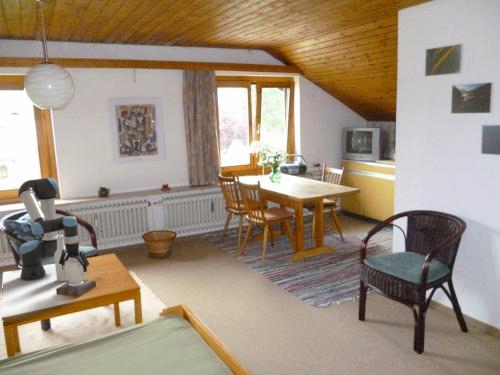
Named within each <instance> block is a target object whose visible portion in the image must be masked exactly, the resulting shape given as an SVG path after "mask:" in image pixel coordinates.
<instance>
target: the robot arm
mask: <svg viewBox="0 0 500 375" xmlns="http://www.w3.org/2000/svg"><path fill="white" fill-rule="evenodd" d="M17 194H18V195H17V196H18V199H19V200H20V202H21V203H23V205H24V207H25V209H26V212H27V214H28V216H29V218H30V220H31V222H32V223H31V224H30V230H31V234H32V235H33V236H38V235H43V237H42V238H41V241H39V240H36V239H35V240H30V241H27V242H25V243H23V244H21V245H20V250H19V253H20V258H21V272H20V280H22V281H34V280H39V279H41V278H43V277H46V274H47V273H46V272H47V271H46V269H45V268H44V265H43V264H42V260H45V259H49V258H55V257H54V254H55V251H56V250H57V237H56V236H57V235H59V232H60V231H63V238H64V245H65V248H66V249H63V250H62V255H61V258H60V261H59V264H61V265H62V269H63V271H64V276H66V272H65V266H66V264H65V261H67V260H68V259H69V258H70V259H71V258H72V259H73V258H76V259H77V260H78V261H79V262H80V264H81V265H82V266H83V267H82V275H83V279H84V278H86V277H87V276H88V274H87V272H88V267H89V266H90V262H89V260H88V259H87V257H86V255H85V251H84V250H83V249H82V250H80V249H79V248H80V243H79V233H78V221H77V217H76V216H75V215H74V216H73V215H69V216H59V217H57V212H56V205H55V204H56V203H55V200H56V199H57V195H59V194H60V188H59V185H58V182H57V181H56V178H54V177H45V178H37V179H29V180H26V181H25V182H23V183H22V184H21V185H20V186H19V188H18V192H17ZM39 202H40V203H39ZM66 252H67V256H66V258H65V255H66ZM64 258H65V259H64Z"/></svg>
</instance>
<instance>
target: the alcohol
mask: <svg viewBox="0 0 500 375" xmlns="http://www.w3.org/2000/svg"><path fill="white" fill-rule="evenodd" d="M56 237H57V250H56V251H55V254H54V257H53V258H54V264H55V273H56V280H57V282H59V283H63V282H64V283H65V282H68V280H67V276H64V271H63V269H62V265H61V264H59V261H60V258H61V255H62V250H63V249H66V247H65V245H64V244H65V239H64V234H58V235H57V236H56ZM66 256H67V252H66V255H65V258H66ZM65 258H64V259H65ZM69 259H71V257H70V258H69ZM69 259H68V260H69Z"/></svg>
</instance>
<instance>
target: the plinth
mask: <svg viewBox="0 0 500 375" xmlns="http://www.w3.org/2000/svg"><path fill="white" fill-rule="evenodd" d="M82 281H83V284H82V285H80V286H75V287H72V286H69V282H68V281H67V282H66V283H64V284H62V285H60V286H58V287H57V288H55V291H56V295H58V296H68V297H74V298H80V297H82V296H84V295H85V294H87V293H88V292H90V291H91V290H93V289H94V288H95V289H96V287H97V282H96V280H89V279H83V280H82Z"/></svg>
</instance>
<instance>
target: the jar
mask: <svg viewBox="0 0 500 375" xmlns="http://www.w3.org/2000/svg"><path fill="white" fill-rule="evenodd" d="M65 264H66V266H65V272H66V276H67V280H68V281H67V283H68V282H69V286H72V287H75V286H80V285H82V284H83V281H82V280H84V278H83V275H82V267H83V266H82V265H81V264H80V262H79V261H78V260H77V259H76V258H73V257H72V258H70V259H69V260H67V261H65Z"/></svg>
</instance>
